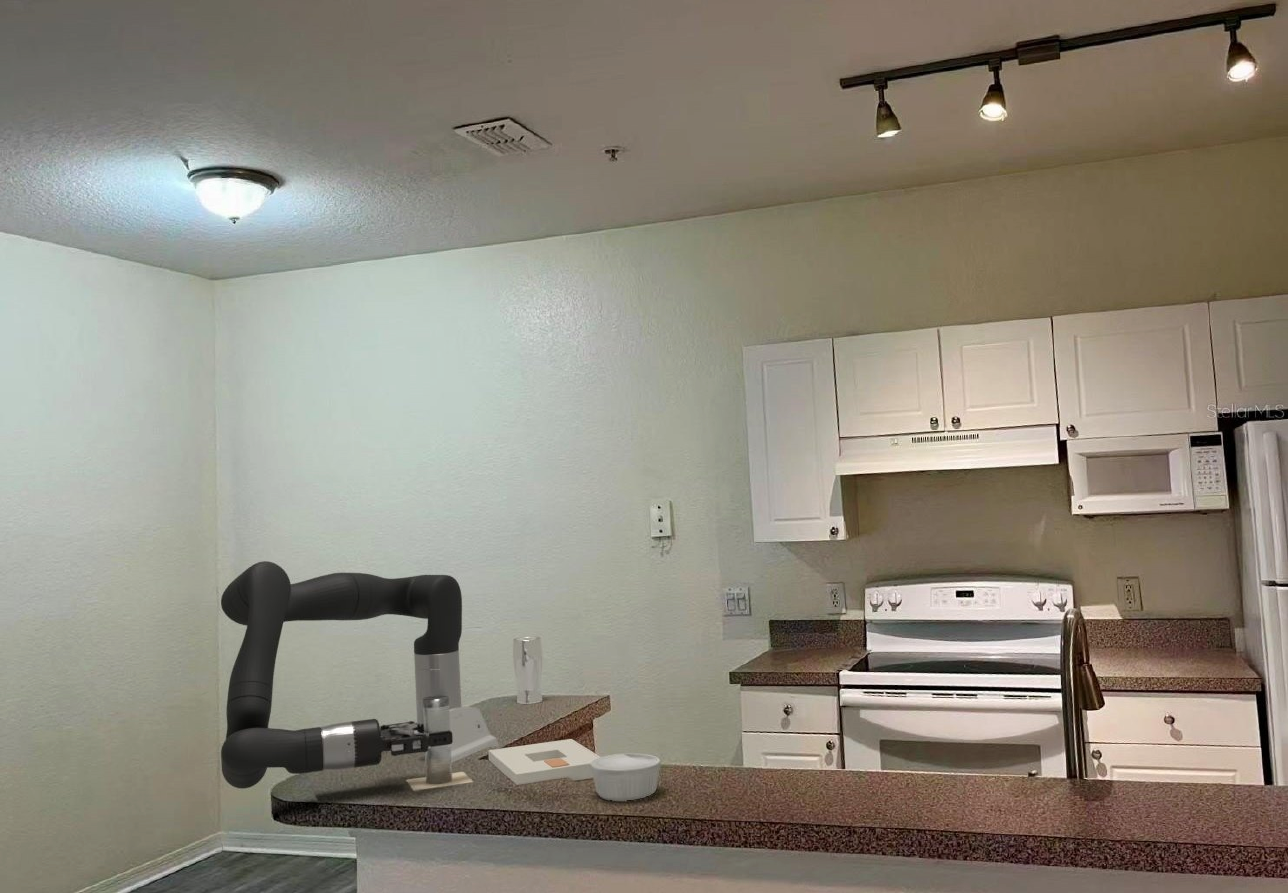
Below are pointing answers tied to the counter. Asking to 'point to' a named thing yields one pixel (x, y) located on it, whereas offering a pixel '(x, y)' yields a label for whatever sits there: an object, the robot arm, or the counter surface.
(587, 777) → the hole plate
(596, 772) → the ramekin
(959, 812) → the counter surface
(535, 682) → the beer glass
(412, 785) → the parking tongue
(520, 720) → the counter surface
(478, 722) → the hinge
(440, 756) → the grey capped tube
